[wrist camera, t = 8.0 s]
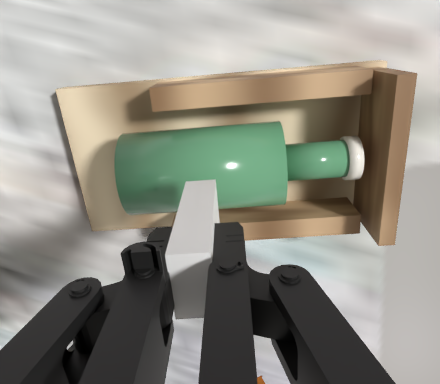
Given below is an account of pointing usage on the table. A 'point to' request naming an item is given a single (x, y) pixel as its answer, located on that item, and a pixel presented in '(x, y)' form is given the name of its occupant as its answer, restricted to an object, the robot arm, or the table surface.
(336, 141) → the bottle
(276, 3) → the table surface
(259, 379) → the decorative duck model
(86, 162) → the cradle
